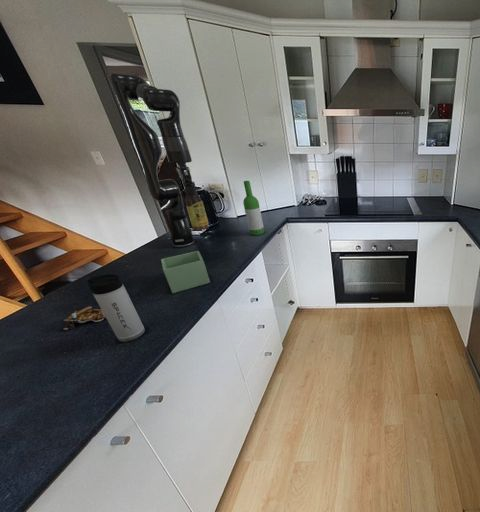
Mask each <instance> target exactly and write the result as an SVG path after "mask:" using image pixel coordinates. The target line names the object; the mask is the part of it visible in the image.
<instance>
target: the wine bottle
mask: <svg viewBox="0 0 480 512" xmlns="http://www.w3.org/2000/svg"><path fill="white" fill-rule="evenodd" d="M243 186H244V190H245V195H246V196H245V197H244V199H243V202H242V203H243V208H244V213H245V219H246V222H247V227H248V231H249V234H250V235H251V236H261V235H263V234H265V227H264V223H263V216H262V211H261V208H260V202H259V200H258V199H257V197H255V196H254V195H253V191H252V186H251V181H250V180H244V181H243Z"/></svg>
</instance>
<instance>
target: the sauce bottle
mask: <svg viewBox="0 0 480 512" xmlns="http://www.w3.org/2000/svg"><path fill="white" fill-rule="evenodd" d="M192 182H193V184H192V186H193V190H194V193H195V194H194V195H188V192H187V189H186V186H185V185H184V182H183V183H182V186H183V188H184V191H185V197H184V204H185V207H186V211H187V214H188V218H189V221H190V224H191V227H192V230H194V231H198V232H199V231H204V230H208V229H209V227H210V225H209V219H208V215H207V212H206V207H205V204H204V201H203V200H202V198H201V197H200V195H199V193H198V191H197V189H196V183H195V181H192Z"/></svg>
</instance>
